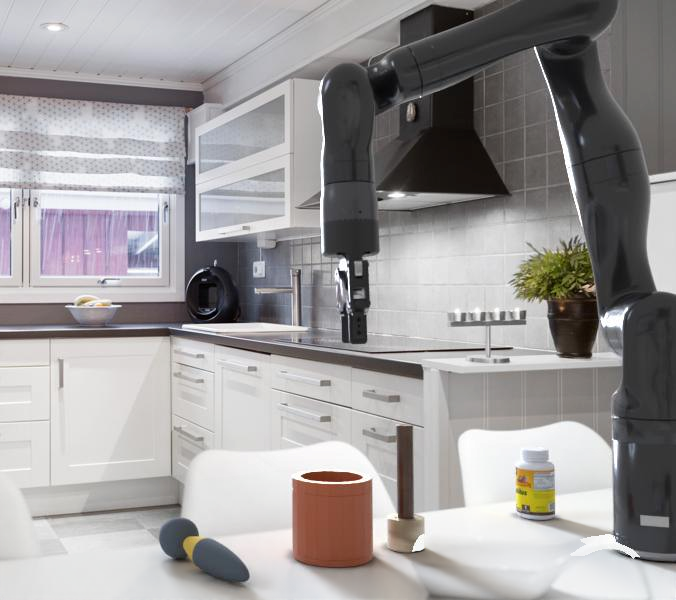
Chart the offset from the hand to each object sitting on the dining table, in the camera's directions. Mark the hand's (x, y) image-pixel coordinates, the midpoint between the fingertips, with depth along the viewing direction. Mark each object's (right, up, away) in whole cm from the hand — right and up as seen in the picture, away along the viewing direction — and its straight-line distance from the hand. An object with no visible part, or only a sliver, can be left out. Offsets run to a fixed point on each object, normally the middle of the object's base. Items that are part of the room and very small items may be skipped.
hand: (353, 343), depth 108 cm
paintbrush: (-19, -27, -8) cm, 34 cm away
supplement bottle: (+30, -27, +17) cm, 44 cm away
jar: (-3, -27, -4) cm, 27 cm away
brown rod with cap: (+7, -27, 0) cm, 28 cm away
